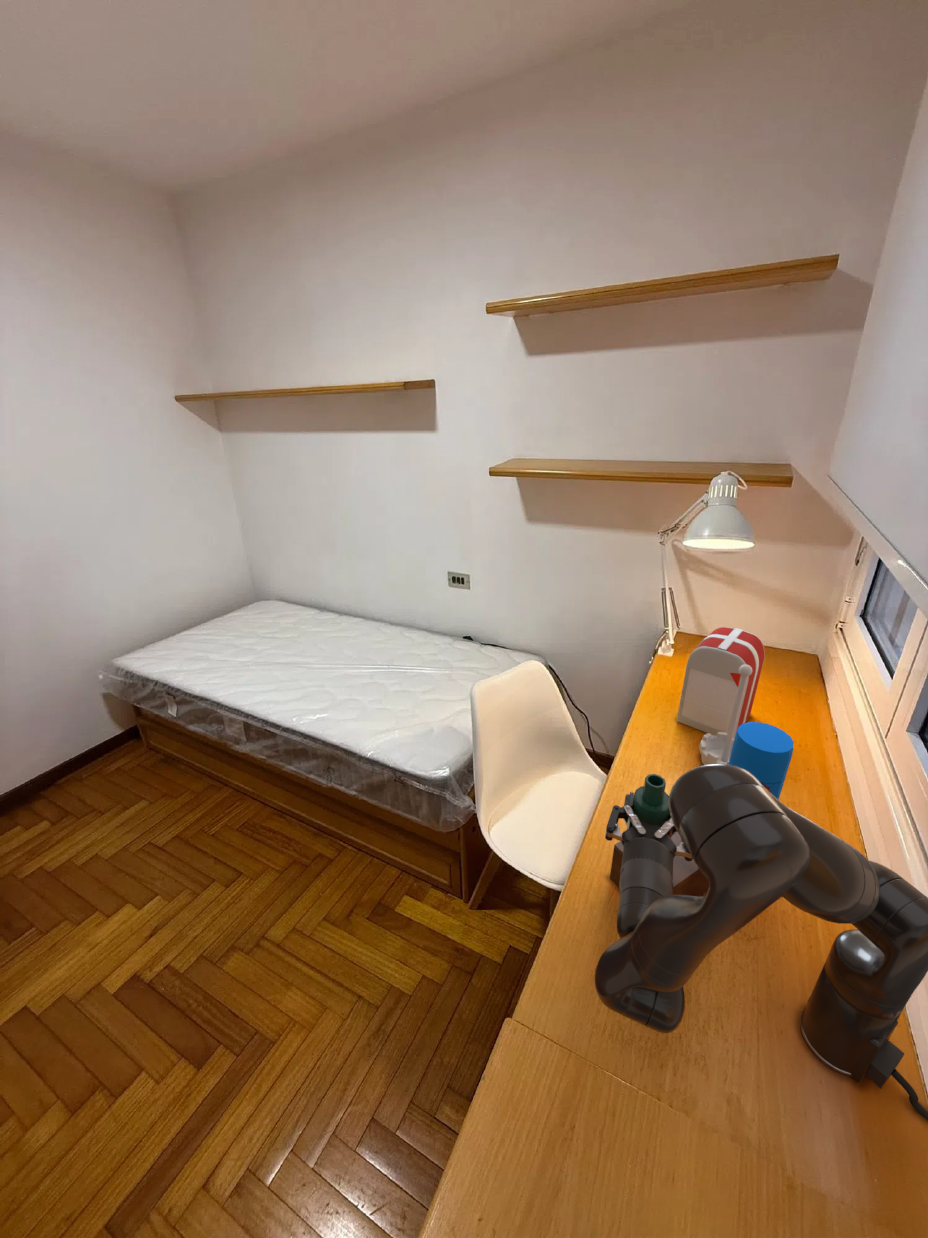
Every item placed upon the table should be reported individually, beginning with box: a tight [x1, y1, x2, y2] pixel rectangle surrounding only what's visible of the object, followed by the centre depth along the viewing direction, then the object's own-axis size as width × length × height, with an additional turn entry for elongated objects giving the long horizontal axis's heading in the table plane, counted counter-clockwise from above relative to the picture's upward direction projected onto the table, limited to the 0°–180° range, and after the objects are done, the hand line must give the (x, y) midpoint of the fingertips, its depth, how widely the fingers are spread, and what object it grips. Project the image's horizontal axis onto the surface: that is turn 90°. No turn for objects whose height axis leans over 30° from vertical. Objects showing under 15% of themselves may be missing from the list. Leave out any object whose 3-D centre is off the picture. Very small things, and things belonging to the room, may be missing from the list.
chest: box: [609, 847, 709, 897], centre depth 104 cm, size 16×13×9 cm
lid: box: [613, 832, 700, 890], centre depth 102 cm, size 16×13×1 cm
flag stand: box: [698, 665, 752, 765], centre depth 132 cm, size 13×13×30 cm
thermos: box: [729, 721, 795, 801], centre depth 114 cm, size 11×11×25 cm
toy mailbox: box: [676, 626, 766, 739], centre depth 151 cm, size 16×18×27 cm
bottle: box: [632, 773, 669, 828], centre depth 91 cm, size 6×6×15 cm
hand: (651, 800), depth 93 cm, fingers closed on bottle, 6 cm apart
